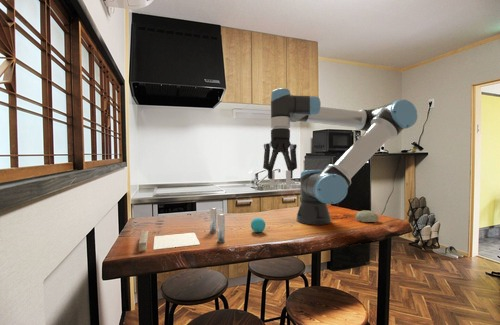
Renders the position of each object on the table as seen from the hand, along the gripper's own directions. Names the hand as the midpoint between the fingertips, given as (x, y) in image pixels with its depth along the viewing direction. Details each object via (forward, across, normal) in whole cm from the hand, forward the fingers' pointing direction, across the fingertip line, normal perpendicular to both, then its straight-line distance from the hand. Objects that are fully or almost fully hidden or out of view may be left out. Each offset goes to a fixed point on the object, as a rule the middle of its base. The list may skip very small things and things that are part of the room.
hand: (280, 187), depth 95 cm
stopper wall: (+17, +50, 0) cm, 52 cm away
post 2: (+17, +26, +6) cm, 31 cm away
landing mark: (+17, +40, 0) cm, 43 cm away
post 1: (+17, +26, -6) cm, 31 cm away
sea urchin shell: (+17, -44, 0) cm, 47 cm away
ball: (+14, +10, 0) cm, 17 cm away
